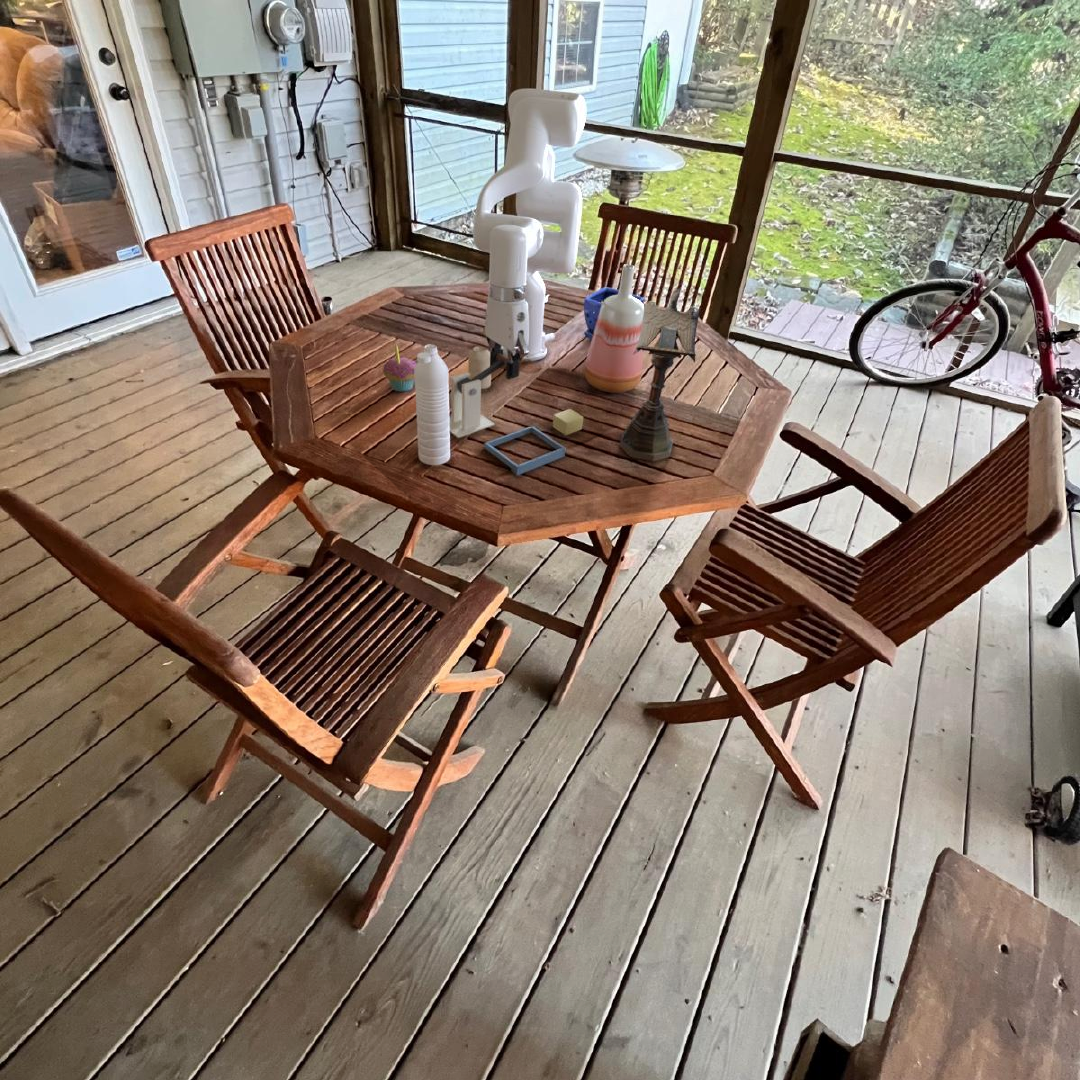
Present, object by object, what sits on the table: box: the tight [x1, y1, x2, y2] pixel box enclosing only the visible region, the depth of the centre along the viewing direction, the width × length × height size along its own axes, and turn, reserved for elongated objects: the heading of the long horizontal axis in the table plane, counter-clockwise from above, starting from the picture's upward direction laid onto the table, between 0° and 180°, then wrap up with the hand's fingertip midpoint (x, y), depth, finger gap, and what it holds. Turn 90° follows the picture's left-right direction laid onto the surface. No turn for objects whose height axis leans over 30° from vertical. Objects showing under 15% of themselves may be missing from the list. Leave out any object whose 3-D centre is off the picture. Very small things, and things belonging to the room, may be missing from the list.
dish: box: [483, 425, 567, 476], centre depth 146 cm, size 13×11×2 cm
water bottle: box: [414, 343, 451, 466], centre depth 134 cm, size 9×6×25 cm
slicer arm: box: [457, 353, 509, 394], centre depth 149 cm, size 13×5×2 cm, turn 130°
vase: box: [583, 264, 645, 394], centre depth 166 cm, size 14×14×30 cm
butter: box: [552, 408, 584, 436], centre depth 154 cm, size 5×4×4 cm
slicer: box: [449, 371, 496, 439], centre depth 150 cm, size 10×8×12 cm
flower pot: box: [583, 286, 645, 340], centre depth 194 cm, size 13×13×12 cm
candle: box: [468, 346, 492, 390], centre depth 166 cm, size 6×6×10 cm
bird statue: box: [619, 288, 700, 462], centre depth 140 cm, size 17×13×35 cm
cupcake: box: [382, 343, 418, 393], centre depth 163 cm, size 9×8×12 cm
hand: (504, 371), depth 153 cm, fingers closed on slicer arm, 5 cm apart
